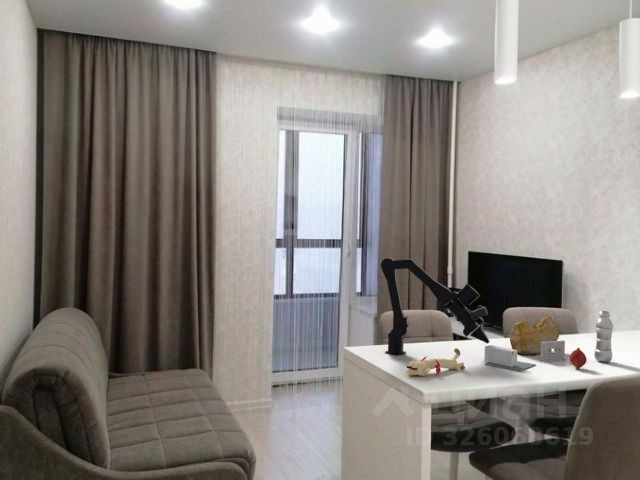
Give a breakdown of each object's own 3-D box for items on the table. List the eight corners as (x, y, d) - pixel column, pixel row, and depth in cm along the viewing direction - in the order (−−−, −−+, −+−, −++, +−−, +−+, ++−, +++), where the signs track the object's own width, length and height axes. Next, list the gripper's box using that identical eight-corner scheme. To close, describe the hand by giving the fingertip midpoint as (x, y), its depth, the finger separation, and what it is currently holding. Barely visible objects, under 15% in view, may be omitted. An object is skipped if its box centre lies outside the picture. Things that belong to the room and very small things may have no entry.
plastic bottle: (610, 360, 227) (612, 311, 227) (613, 364, 220) (615, 313, 220) (593, 359, 229) (594, 310, 229) (595, 362, 223) (596, 312, 222)
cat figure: (448, 369, 213) (398, 371, 199) (450, 346, 213) (400, 346, 200) (468, 375, 205) (417, 378, 191) (470, 351, 205) (420, 352, 191)
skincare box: (490, 359, 222) (517, 366, 213) (483, 361, 219) (511, 368, 210) (490, 344, 222) (518, 350, 213) (483, 345, 219) (511, 351, 210)
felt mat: (520, 371, 206) (520, 370, 206) (484, 364, 215) (484, 363, 215) (535, 365, 216) (535, 364, 216) (501, 359, 226) (501, 358, 226)
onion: (566, 366, 215) (566, 345, 215) (580, 366, 215) (581, 345, 215) (574, 370, 209) (575, 349, 209) (589, 370, 210) (589, 349, 209)
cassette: (561, 359, 229) (562, 340, 229) (565, 360, 227) (566, 341, 227) (539, 361, 224) (539, 341, 224) (542, 362, 222) (543, 342, 222)
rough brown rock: (534, 347, 256) (532, 314, 256) (565, 351, 241) (563, 316, 242) (496, 353, 245) (494, 318, 246) (526, 357, 230) (523, 320, 231)
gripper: (472, 301, 215) (501, 333, 211) (479, 296, 232) (506, 325, 228) (450, 320, 218) (479, 352, 214) (459, 314, 235) (485, 343, 231)
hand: (488, 342), depth 222 cm, fingers closed
